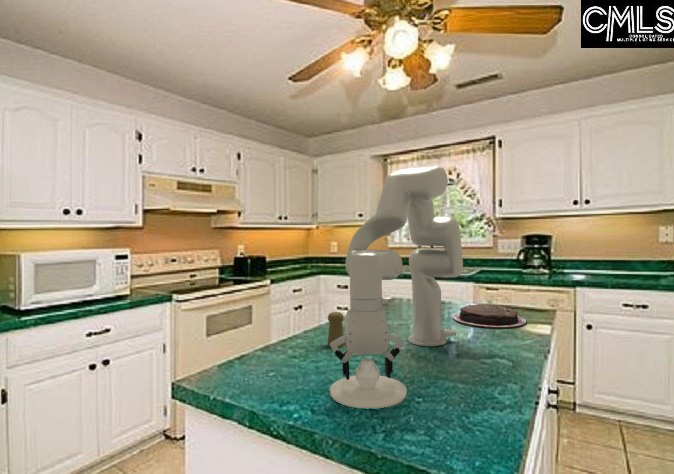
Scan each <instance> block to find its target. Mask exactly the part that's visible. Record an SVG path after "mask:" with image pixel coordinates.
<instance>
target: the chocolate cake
mask: <svg viewBox="0 0 674 474" xmlns="http://www.w3.org/2000/svg"><path fill="white" fill-rule="evenodd" d="M452 317H453V320H454V321H456V322H457V323H459V324H463V325H464V326H466V327H467V326H468V327H475V328H483V329H484V328H485V329H495V330H503V329H505V330H506V329H511V328H515V329H516V328H517V329H518V328H520V327H521V326H524V325H525V324H527V320H526V319H525V318H524V317H522V316H519V315H518V313H517V309H516V310H515V309H513V308H509V307H508V308H506V307H504V306H501V305H497V304H489V303H488V304H486V303H485V304H483V303H481V304H480V303H479V304H468V305H466V306H463V307H461V308H460V309H459V313H456V314H454V315H453V316H452Z"/></svg>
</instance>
